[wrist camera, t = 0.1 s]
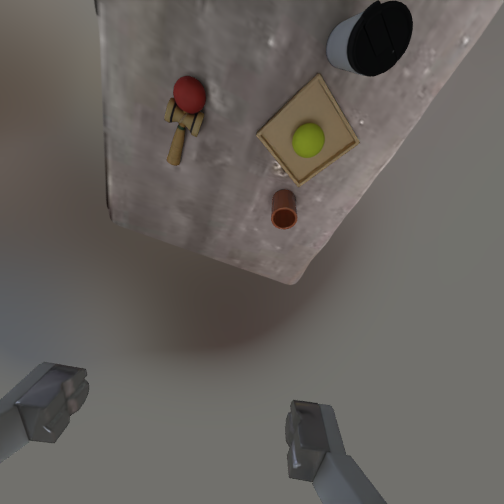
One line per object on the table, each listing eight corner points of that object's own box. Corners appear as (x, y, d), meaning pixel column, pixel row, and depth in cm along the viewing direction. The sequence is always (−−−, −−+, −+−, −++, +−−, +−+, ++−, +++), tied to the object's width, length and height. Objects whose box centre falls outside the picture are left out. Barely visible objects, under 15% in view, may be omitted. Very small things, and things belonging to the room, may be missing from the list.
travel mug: (353, 6, 37) (403, -25, 22) (370, 48, 40) (424, 46, 25) (318, 40, 40) (341, 33, 25) (336, 77, 43) (366, 91, 28)
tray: (318, 73, 43) (319, 73, 41) (357, 139, 50) (360, 142, 48) (256, 132, 50) (255, 135, 49) (297, 183, 57) (298, 187, 55)
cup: (286, 184, 58) (286, 202, 51) (299, 201, 60) (302, 220, 53) (267, 198, 60) (266, 217, 54) (281, 213, 63) (281, 233, 56)
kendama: (195, 165, 58) (219, 89, 45) (182, 176, 53) (204, 95, 41) (168, 147, 57) (184, 64, 44) (152, 157, 53) (165, 68, 40)
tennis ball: (311, 112, 47) (314, 119, 42) (328, 138, 49) (333, 147, 45) (285, 135, 50) (286, 144, 45) (302, 158, 52) (305, 169, 48)
